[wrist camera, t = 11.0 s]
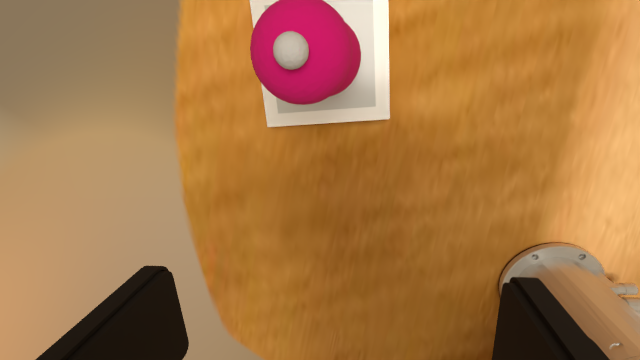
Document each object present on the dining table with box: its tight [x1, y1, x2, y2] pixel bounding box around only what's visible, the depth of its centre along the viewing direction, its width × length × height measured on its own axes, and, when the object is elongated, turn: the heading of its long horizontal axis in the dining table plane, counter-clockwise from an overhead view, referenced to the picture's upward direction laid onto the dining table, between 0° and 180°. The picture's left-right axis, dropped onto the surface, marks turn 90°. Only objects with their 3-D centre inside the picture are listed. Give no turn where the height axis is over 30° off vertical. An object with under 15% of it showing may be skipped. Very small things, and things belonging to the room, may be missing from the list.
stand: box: [250, 0, 390, 127], centre depth 35 cm, size 14×14×3 cm
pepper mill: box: [250, 0, 361, 105], centre depth 24 cm, size 7×7×20 cm
